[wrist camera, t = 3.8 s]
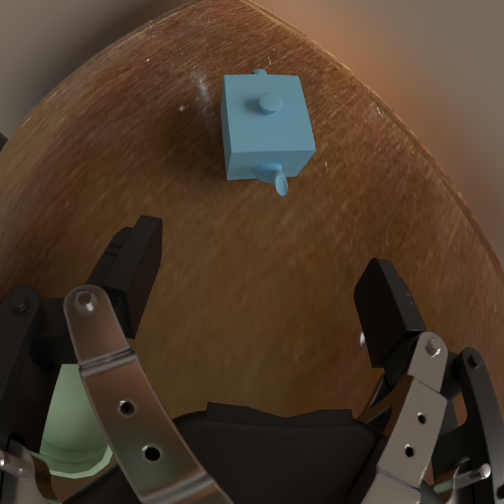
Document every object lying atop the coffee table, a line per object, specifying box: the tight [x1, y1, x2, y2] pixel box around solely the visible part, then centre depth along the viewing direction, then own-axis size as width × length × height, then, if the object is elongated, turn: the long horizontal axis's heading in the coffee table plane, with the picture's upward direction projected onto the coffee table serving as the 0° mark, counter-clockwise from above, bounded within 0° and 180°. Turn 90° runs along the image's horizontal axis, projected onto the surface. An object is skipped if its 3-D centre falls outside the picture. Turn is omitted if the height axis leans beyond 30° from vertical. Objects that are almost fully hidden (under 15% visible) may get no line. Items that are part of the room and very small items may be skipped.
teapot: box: [221, 69, 316, 196], centre depth 22 cm, size 12×6×8 cm, turn 7°
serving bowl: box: [39, 364, 113, 478], centre depth 19 cm, size 16×16×4 cm
